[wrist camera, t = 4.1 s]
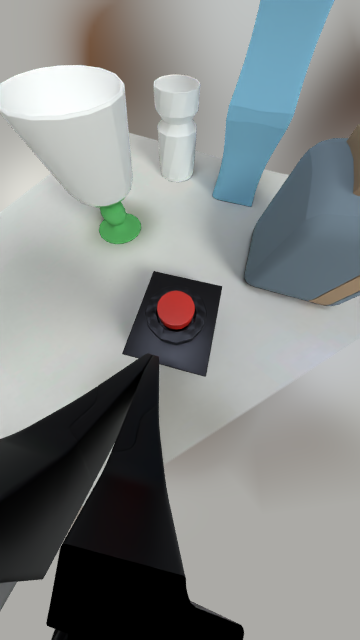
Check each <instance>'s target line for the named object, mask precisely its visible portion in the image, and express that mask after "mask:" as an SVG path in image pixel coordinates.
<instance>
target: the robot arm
mask: <svg viewBox="0 0 360 640" xmlns="http://www.w3.org/2000/svg"><path fill="white" fill-rule="evenodd" d="M114 443H115V444H114ZM113 445H114V446H113ZM112 447H113V449H112ZM111 449H112V451H111V454H110V456H109V459H108V461H107V463H106V466H105V468H104V470H103V472H102V474H101V476H100V478H99V480H98V481H97V483H96V485H95V487H94V489H93V490H92V492H91V494H90V496H89V497H88V499H87V501H86V503H85V505H84V506H83V508H82V510H81V512H80V514H79V515H78V517H77V519H76V521H75V522H74V524H73V526H72V528H71V530H70V532H69V533H68V530H69V529H70V527H71V524H72V523H73V521H74V519H75V517H76V515H77V513H78V511H79V510H80V508H81V506H82V504H83V502H84V500H85V498H86V496H87V494H88V493H89V491H90V489H91V487H92V485H93V482H94V481H95V479H96V477H97V475H98V473H99V471H100V470H101V468H102V466H103V464H104V462H105V460H106V458H107V456H108V454H109V452H110V450H111ZM67 533H68V535H67ZM66 535H67V537H66V538H65V536H66ZM64 538H65V540H64ZM63 540H64V542H63ZM62 542H63V544H62ZM61 544H62V546H61ZM60 546H61V548H60ZM59 548H60V553H59V559H58V564H57V569H56V575H55V581H54V586H53V592H52V597H51V603H50V608H49V613H48V618H47V626H49V627H52V628H54V629H57V630H58V632H57V634H56V636H55V637H54V639H53V640H243V636H244V630H243V627H242V626H241V625H240V624H238V623H236V622H234V621H231V620H229V619H227V618H225V617H223V616H221V615H219V614H217V613H215V612H213V611H210V610H208V609H206V608H204V607H202V606H200V605H198V604H196V603H194V602H191V601H190V600H189V597H188V594H187V589H186V578H185V574H184V570H183V565H182V560H181V555H180V551H179V547H178V541H177V537H176V533H175V527H174V523H173V518H172V513H171V509H170V504H169V499H168V494H167V488H166V482H165V474H164V466H163V457H162V448H161V440H160V429H159V356H156V355H152V354H148V353H147V354H145V355H144V356H142V357H141V358H139V359H138V360H136V361H135V362H133V363H132V364H130V365H129V366H127V367H126V368H124V369H123V370H121V371H120V372H118V373H117V374H115V375H114V376H112V377H111V378H109V379H108V380H106V381H105V382H103V383H102V384H100V385H99V386H98V387H95V388H94V389H92V390H91V391H89V392H88V393H86V394H85V395H83V396H82V397H80V398H78V399H77V400H75V401H73V402H72V403H70V404H68V405H66V406H65V407H63V408H61V409H59V410H58V411H56V412H54V413H52V414H51V415H49V416H47V417H45V418H43V419H42V420H40V421H38V422H36V423H35V424H33V425H31V426H29V427H27V428H25V429H23V430H21V431H19V432H17V433H15V434H12V435H10V436H7V437H5V438H2V439H0V610H1V609H2V607H3V605H4V603H5V602H6V600H7V598H8V596H9V595H10V593H11V591H12V590H13V588H14V586H15V584H16V582H18V581H28V580H38V579H43V578H44V576H45V574H46V573H47V571H48V569H49V567H50V565H51V563H52V561H53V559H54V557H55V555H56V554H57V552H58V550H59Z"/></svg>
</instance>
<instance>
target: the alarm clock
mask: <svg viewBox="0 0 360 640" xmlns="http://www.w3.org/2000/svg"><path fill="white" fill-rule="evenodd" d="M245 280H246V282H247V283H248V284H250V285H252V286H254V287H258V288H262V289H265V290H269V291H273V292H276V293H280V294H284V295H288V296H291V297H295V298H299V299H302V300H306V301H310V302H313V303H317V304H321V305H325V306H334V305H338V304H341V303H343V302H345V301H348V300H350V299H352V298H355V297H357V296H359V295H360V124H359V125H357V127H356V129H355V130H354V131H353V133H352V134H351V136H350V137H349V138H341V139H340V138H333V139H329V140H325V141H321V142H319V143H318V144H316V145H315V146H313V147H312V148H310V149H309V150H308V151H307V152H306V153H305V154H304V156H303V157H302V158H301V159H300V161H299V162H298V164H297V165H296V167H295V168H294V170H293V171H292V172H291V174H290V175H289V177H288V178H287V180H286V181H285V182H284V184H283V185H282V187H281V188H280V190H279V191H278V193H277V194H276V195H275V197H274V198H273V200H272V201H271V203H270V204H269V206H268V207H267V209H266V210H265V211H264V213H263V214H262V216H261V217H260V219H259V220H258V222H257V223H256V226H255V228H254V232H253V237H252V242H251V246H250V251H249V256H248V261H247V266H246V271H245Z"/></svg>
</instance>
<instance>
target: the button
mask: <svg viewBox="0 0 360 640" xmlns="http://www.w3.org/2000/svg"><path fill="white" fill-rule="evenodd" d="M194 311H195V305H194V302H193V300H192V298H191V297H190V296H189V295H187V294H186V293H184V292H181V291H171V292H168V293H166V294H164V295H163V296H162V297H161V298H160V300H159V302H158V305H157V312H158V315H159V318H160V320H161V322H162V323H163V324H164V325H165V326H166V327H168V328H170V329H175V330H177V329H182V328H184V327H186V326H187V325H189V323H190V322H191V320H192V318H193V315H194Z"/></svg>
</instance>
